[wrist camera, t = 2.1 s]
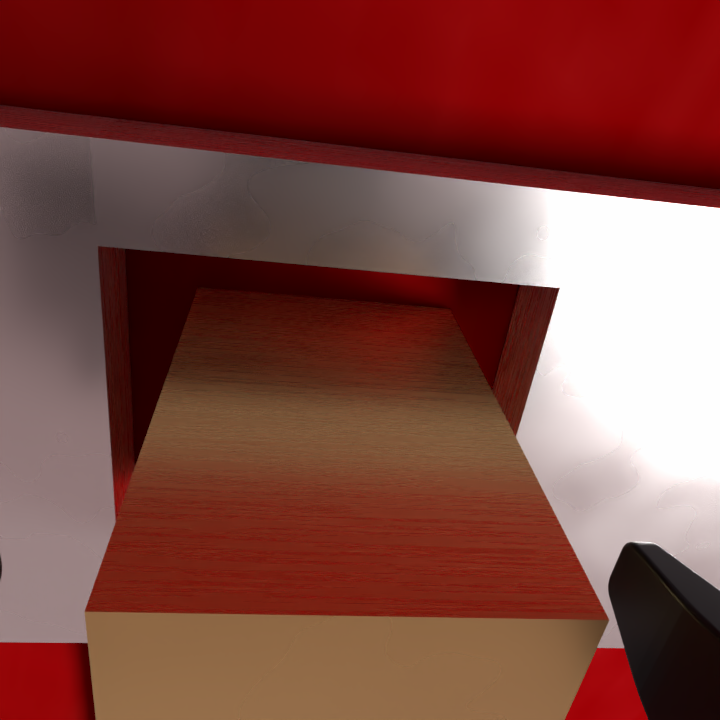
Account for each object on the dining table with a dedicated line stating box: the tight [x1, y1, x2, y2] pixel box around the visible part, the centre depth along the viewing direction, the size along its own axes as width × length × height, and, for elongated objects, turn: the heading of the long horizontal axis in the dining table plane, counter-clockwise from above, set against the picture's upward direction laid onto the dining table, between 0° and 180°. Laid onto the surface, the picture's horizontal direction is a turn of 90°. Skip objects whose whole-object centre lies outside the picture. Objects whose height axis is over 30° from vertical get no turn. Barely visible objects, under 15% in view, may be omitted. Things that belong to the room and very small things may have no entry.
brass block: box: [85, 287, 609, 720], centre depth 10 cm, size 5×5×7 cm
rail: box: [0, 105, 720, 648], centre depth 12 cm, size 22×10×2 cm, turn 83°
